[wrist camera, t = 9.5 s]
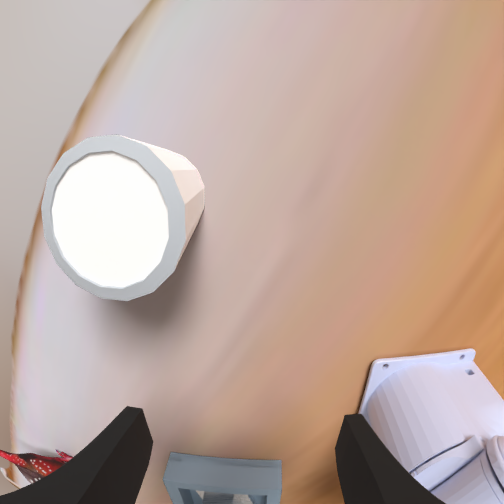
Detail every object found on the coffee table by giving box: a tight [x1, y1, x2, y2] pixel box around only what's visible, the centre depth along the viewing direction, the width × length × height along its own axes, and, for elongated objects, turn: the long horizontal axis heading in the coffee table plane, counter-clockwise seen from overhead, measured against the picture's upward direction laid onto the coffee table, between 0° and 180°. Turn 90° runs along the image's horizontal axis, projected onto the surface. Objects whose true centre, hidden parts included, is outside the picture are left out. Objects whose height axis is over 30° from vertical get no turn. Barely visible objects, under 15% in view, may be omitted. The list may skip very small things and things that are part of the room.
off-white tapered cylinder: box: [41, 134, 205, 301], centre depth 15 cm, size 7×7×7 cm
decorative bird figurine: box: [0, 450, 73, 484], centre depth 23 cm, size 3×18×10 cm, turn 70°
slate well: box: [163, 452, 282, 504], centre depth 25 cm, size 10×11×4 cm
